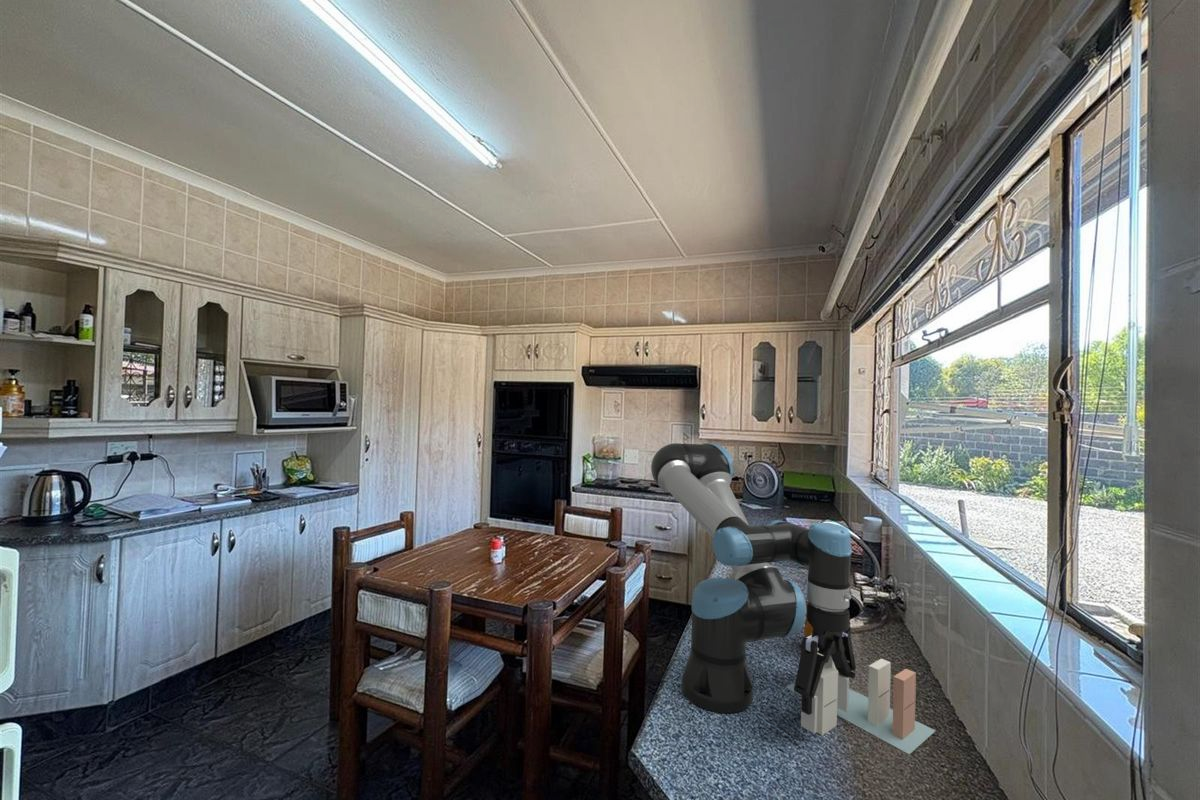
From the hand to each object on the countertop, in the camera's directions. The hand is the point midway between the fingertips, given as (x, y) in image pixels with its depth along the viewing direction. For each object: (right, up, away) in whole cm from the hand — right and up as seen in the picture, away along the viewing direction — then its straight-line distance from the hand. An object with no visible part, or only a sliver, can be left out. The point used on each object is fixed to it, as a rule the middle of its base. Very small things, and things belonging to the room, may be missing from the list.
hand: (825, 718), depth 93 cm
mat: (+10, -3, +7) cm, 12 cm away
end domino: (+15, -2, 0) cm, 15 cm away
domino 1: (+7, -2, +11) cm, 13 cm away
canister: (+13, -4, +28) cm, 31 cm away
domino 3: (+12, -2, +3) cm, 13 cm away
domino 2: (0, -2, 0) cm, 2 cm away
